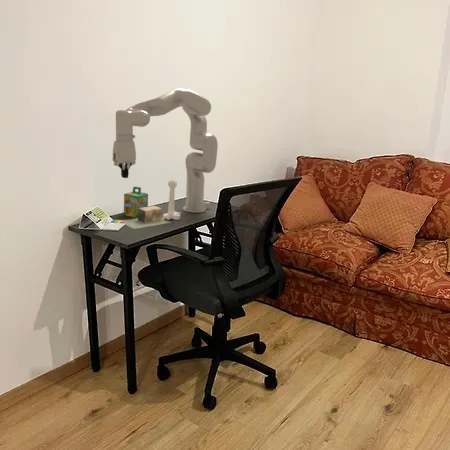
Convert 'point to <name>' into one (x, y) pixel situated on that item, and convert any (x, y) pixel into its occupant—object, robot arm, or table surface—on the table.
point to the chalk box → (134, 202)
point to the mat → (138, 224)
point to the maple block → (149, 214)
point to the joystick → (171, 203)
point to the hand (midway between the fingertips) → (124, 177)
